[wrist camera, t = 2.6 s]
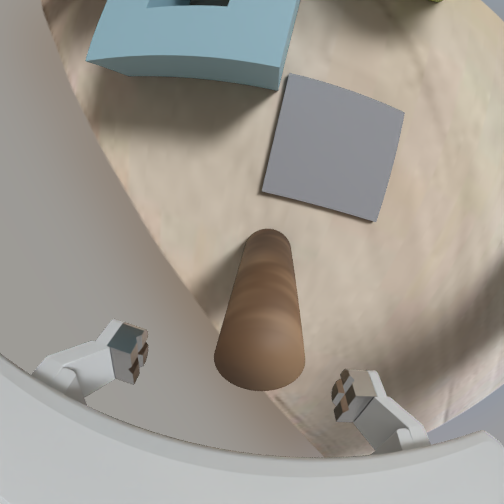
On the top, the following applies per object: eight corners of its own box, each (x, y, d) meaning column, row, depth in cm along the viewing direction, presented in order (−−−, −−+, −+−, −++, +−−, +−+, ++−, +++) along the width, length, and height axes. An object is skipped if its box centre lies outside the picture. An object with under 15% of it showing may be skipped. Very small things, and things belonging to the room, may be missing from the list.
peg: (296, 235, 20) (318, 338, 9) (284, 276, 22) (289, 396, 11) (250, 224, 20) (221, 318, 9) (240, 266, 22) (209, 381, 11)
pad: (402, 113, 16) (404, 112, 16) (374, 220, 20) (376, 222, 19) (289, 74, 16) (289, 73, 16) (261, 190, 19) (261, 191, 19)
